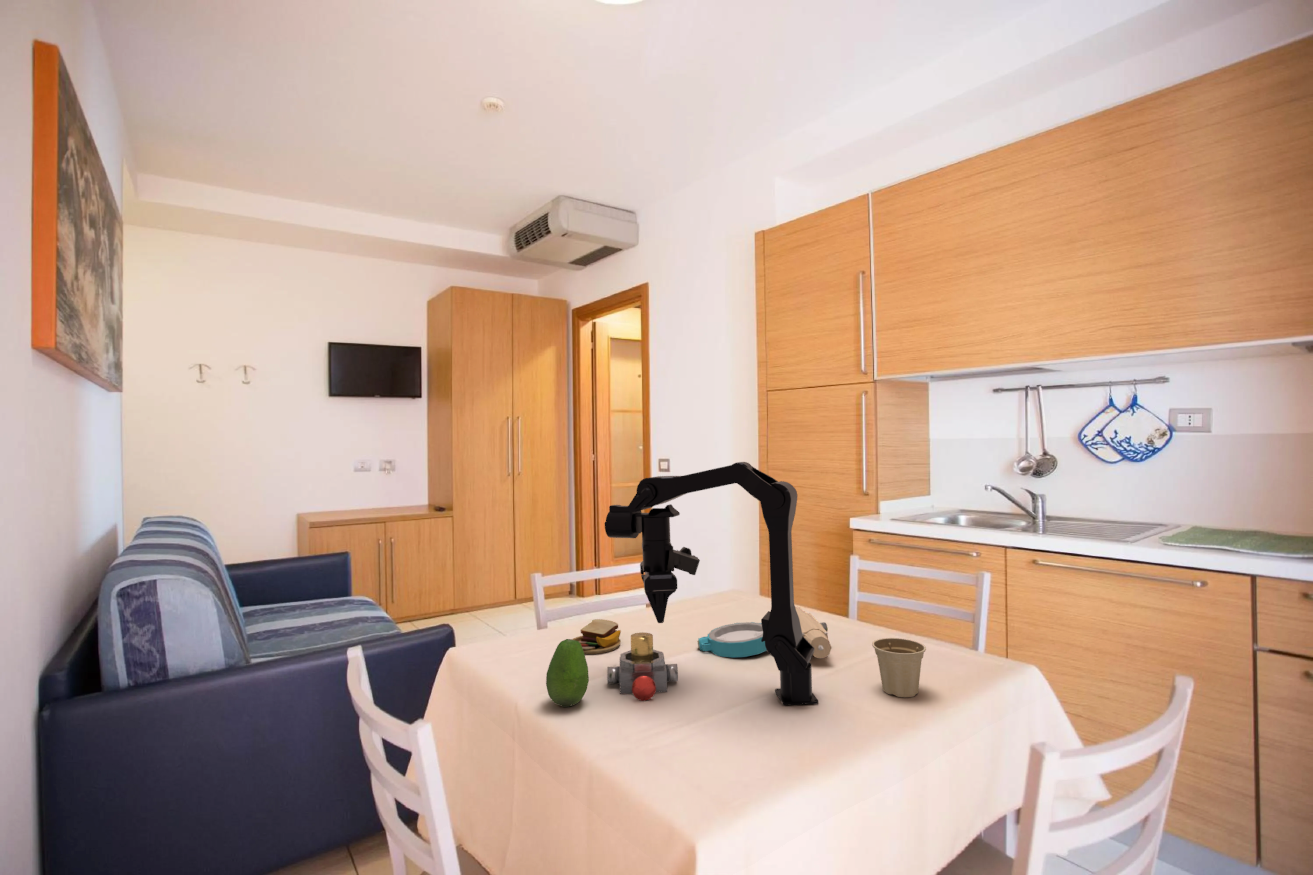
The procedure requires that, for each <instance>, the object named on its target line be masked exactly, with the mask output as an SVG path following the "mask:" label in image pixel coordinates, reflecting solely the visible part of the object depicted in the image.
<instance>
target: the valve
mask: <svg viewBox="0 0 1313 875" xmlns="http://www.w3.org/2000/svg"><path fill="white" fill-rule="evenodd" d="M619 655H620V656H619V665H617V666H615V665H613V666H607V670H606V673H607V675H606V678H607V679H606V680H607V685H616V684H619V695H630V694H631V695H633V696H634V698H636V699H637V700H639V701H642V702H645V701H649V700H651V699H652V698H653V697H654V696H655V695H656V693H668V682H679V671H678V663H670V664H669V663H666V661H665V655H664V652H663V651H660V650H657V649H653V661H650V662H633V661H631V649H630V650H627V651H625V652H622V653H620V654H619Z"/></svg>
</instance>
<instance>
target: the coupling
mask: <svg viewBox="0 0 1313 875" xmlns="http://www.w3.org/2000/svg"><path fill="white" fill-rule="evenodd" d="M630 650H631V661H633V662H650V661H653V650H654V634H653V633H650V632H643V631H642V632H635V633H632V634H631V635H630Z"/></svg>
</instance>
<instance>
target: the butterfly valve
mask: <svg viewBox="0 0 1313 875" xmlns="http://www.w3.org/2000/svg"><path fill="white" fill-rule="evenodd" d="M795 608H796V611H797V614H798V617H799V620H800V625H801V630H802V635H803V637H804V638H805V639H806V640H807V641H808V642H809V643H810V644H811V645H812V646H813V647H814V648H815V650H814V653H813V656H814V658H817V659H824V658H826V657H828V656H829V655H830V653H831V650H832V645H831V643H830V640H829V635H828V634H829V633H828V631H829V630H828V628H829V627H828V625H827V623H826V622H819V621H818V620H817V619H816V618H815V617H814V615H813V614H812V613H811V612H806V611H805V610H803V609H802V608H801V607H798V606H795ZM762 637H763V629H762V624H761V622H753V621H751V622H747V621H746V622H736V623H735V622H734V623H730V624H724V625H722V626H719V627H716V628H713V629H712V630H711V631H710V632H709V633H707V636H701V637H698V640H696V641H697V648H698V649H699V651H701V652H702V651H703V652H707V651H708V652H711V653H712V654H714V655H716V656H717V657H722V658H723V657H725V658H747V657H750V656H755V655H759V654H762V653H764V652H767V650H766V647H765V641H763V642H762V641H761V640H762ZM813 656H812V657H813Z"/></svg>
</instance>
